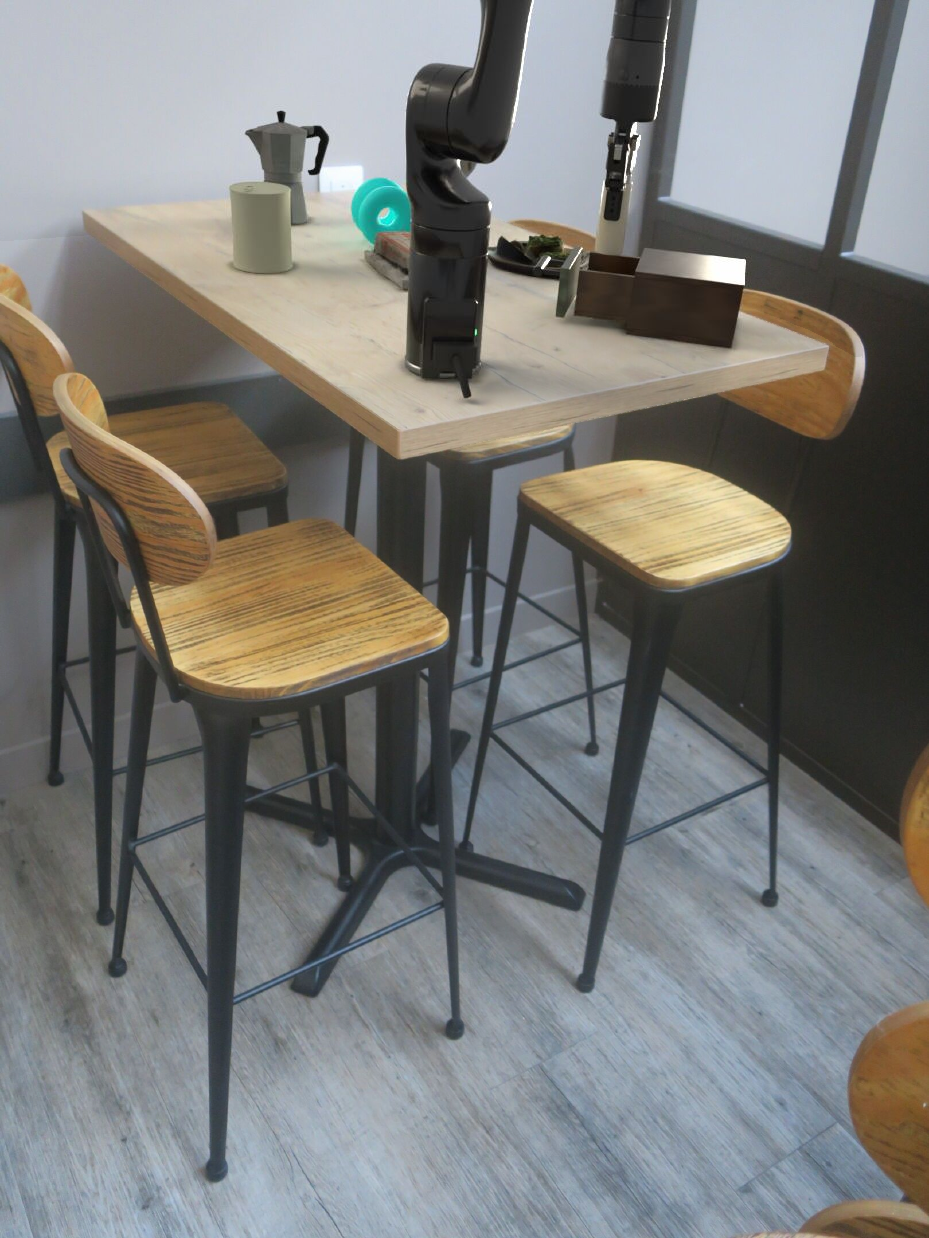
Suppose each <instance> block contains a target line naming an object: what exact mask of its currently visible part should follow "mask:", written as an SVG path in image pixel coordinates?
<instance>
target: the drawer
mask: <svg viewBox="0 0 929 1238" xmlns="http://www.w3.org/2000/svg"><path fill="white" fill-rule="evenodd" d="M572 249H573V250H572V252H571V253H570V255H569V256H568V258H567V259H566V261H563V260H555V259H550V257H549V256H547V255H544V256H543V257H542V258H541V259H540V261H539V262H538V263H537V265H536V266H535V268H534V269H533V273H534V275H535V276H541V275H542V273H543V274H549V275H556V276H560V278H559V279H558V289H557V298H556V307H555V315H554V316H555V317H556V318H561V319H564V318H565V316H566V314H567V312H568V310H569V309H570V307H571V305H572V303H573V301H574V299H575V301H574V302H575V303H574V309H573V316H574V317H581V318H589V319H596V320H602V321H612V322H619V323H626V324H627V322H628V316H629V309H630V302H631V296H632V289H633V282H634V276H635V271H636V268H637V266H638V263H639V261H640V258H641V256H634V255H627V254H626V255H625V254H621V255H604V254H600V253H597V252H595V251H594V250H590V251H589V252H590V254H589V262H588V266H587V269H580V263H581V255H582V250H583V247H581V246H574V247H573V248H572ZM549 263H550V264H554V265H562V267H561V271H558V270H550V269H546V268H547V266H548V265H549Z"/></svg>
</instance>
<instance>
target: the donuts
mask: <svg viewBox="0 0 929 1238" xmlns="http://www.w3.org/2000/svg"><path fill="white" fill-rule="evenodd" d="M350 204H351V205H350V212H351V217H352V220H353V222H354V224H355V226H356V228H357V229H358V230H359V231H360V232H361V233H362V235H363V237H364V238H365V240H367V242H368V243H370V244H371V245H373V246H374V243H375V237H376V233H379V232H392V231H394V232H396V231H406V232H409V233H410V229H411V206H410V202H409V199H408V195H407V191H405V190H404V189H403V188H402V187H401V186H400V185H399V184H398V183H396V182H395V181H394V180H392V179H390V178H386V177H374V178H370V179H368V180H366V181H364V182H363V183H361V184H360V185H359V186H358V187H357V189H356V191H355V192H354V194H353V196H352V199H351V203H350ZM384 209H388V212H387V214H386V215H385V216H384V217H380V213H381V212H382V211H383V210H384Z"/></svg>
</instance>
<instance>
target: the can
mask: <svg viewBox="0 0 929 1238" xmlns="http://www.w3.org/2000/svg"><path fill="white" fill-rule="evenodd" d="M228 189H229V197H230V213H231V229H232V230H231V232H232V249H233V252H232V253H233V260H232V261H233V262H232V266H233V267H234V268H235V269H236V270H238V271H242V272H245V273H251V274H252V273H253V274H279V273H284V272H287V271H290V270H291V269H293V267H294V263H293V256H292V255H293V254H292V225H291V212H290V192H291V189H290V188H289V187H288V186H285V185H282V184H277V183H270V182H264V181H242V182H237V183H233V184H231V185H229V187H228Z"/></svg>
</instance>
